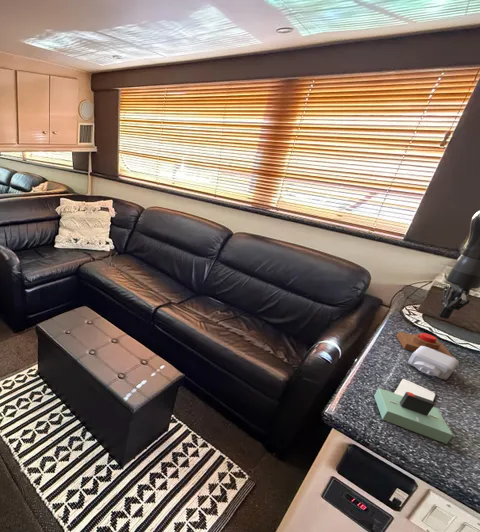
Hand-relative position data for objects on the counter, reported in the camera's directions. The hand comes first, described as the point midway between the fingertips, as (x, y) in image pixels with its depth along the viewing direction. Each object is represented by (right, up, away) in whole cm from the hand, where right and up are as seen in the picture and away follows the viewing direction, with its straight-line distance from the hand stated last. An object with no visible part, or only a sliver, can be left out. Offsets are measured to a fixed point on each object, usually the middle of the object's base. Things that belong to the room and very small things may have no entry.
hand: (442, 317), depth 109 cm
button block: (-1, -12, +6) cm, 14 cm away
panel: (-40, -22, -26) cm, 52 cm away
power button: (-1, -9, +4) cm, 10 cm away
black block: (-39, -19, -28) cm, 52 cm away
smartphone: (-29, -20, -18) cm, 40 cm away
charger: (-13, -16, -6) cm, 22 cm away
